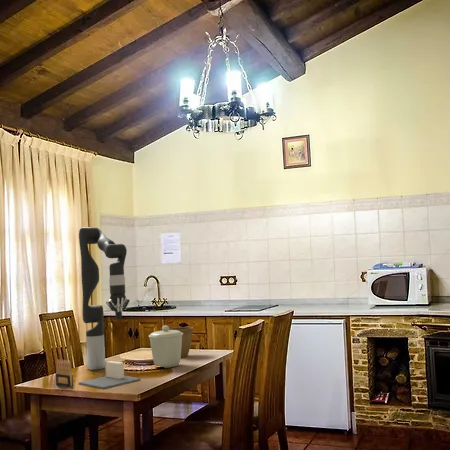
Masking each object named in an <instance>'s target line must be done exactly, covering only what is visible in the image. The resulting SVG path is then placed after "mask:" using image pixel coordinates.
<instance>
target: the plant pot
mask: <svg viewBox="0 0 450 450" xmlns="http://www.w3.org/2000/svg"><path fill="white" fill-rule="evenodd" d="M169 330H177V331H180V332H181V333H183V335H182V345H181V358H186V357H188V356H189V353H190V349H191V345H192V341H193V333H194V331H193V330H194V327H191V326H180V327H178V326H177V327H169Z"/></svg>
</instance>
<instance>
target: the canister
mask: <svg viewBox="0 0 450 450" xmlns="http://www.w3.org/2000/svg"><path fill="white" fill-rule="evenodd" d="M161 329H162V330H157V331H153V332H152V333H150V334H148V338H149V342H150V349H151V355H152V360H153V364H154V366H155V367H156V366H160V367H164V368H163V369H169V368H175V367H178V366H179V365H180V363H181V358H182V357H181V345H182V335H183V333H181V332H180V331H177V330H169V329H170V327H169V325H166V324H165V325H162V327H161Z"/></svg>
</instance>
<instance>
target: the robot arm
mask: <svg viewBox="0 0 450 450" xmlns="http://www.w3.org/2000/svg"><path fill="white" fill-rule="evenodd" d="M78 242H79V243H78V244H79V250H80V251H79V252H80V260H81V261H80V262H81V263H80V266H81V267H80V268H81V286H82V287H81V288H82V312H81V313H82V320H83V322H84V324H94V323H97V324H96V325H95V326H93V327H91V328H90V329H87V330H86V332H85V335H86V336H85V338H86V340H85V341H86V342H85V343H86V354H85V357H86V369H87V370H91V371H92V370H93V371H95V370H102V369H105V362H106V351H105V350H106V349H105V348H106V347H105V332H104V330H105V329H104V315H105V313H104V306H103V305H102V304H94V305H89V303H90V299H91V296H92V295H93V292H94V291H95V289H96V288H97V286H98V284H99V282H100V269H99V268H100V267H99V265H98V264H97V262H96V261H95V259H94V258H93V257H92V255H91V253H90V249H89V245H96V244H97V248H98V249H99V250H101V251H102V252H103V253H104V254H105V257H106V258H108V259H117V260H116V262H112V263H111V264H110V265H109V268H108V269H109V294H110V296H109V300H108V301H106V302H105V304H106V305H107V306H108V307H109V308H110V311H112V312H114V313H115V319H116V320H117V321H119V320H122V318H123V311H125V310H126V308H127V307H128V305H129V303H130V301H131V300H130V299H128V298H127V296H126V278H125V262H126V257H127V250H128V249H127V247H126V246H125V244H124V243H115V242H114V240H111V239H110V238H108V237H107V236H106V234H104V233H103V231H102V230H101V229H100V228H98V227H96V226H83V227H80V228H79V229H78Z"/></svg>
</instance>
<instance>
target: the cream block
mask: <svg viewBox="0 0 450 450" xmlns="http://www.w3.org/2000/svg"><path fill="white" fill-rule="evenodd" d="M124 364H125V363H124V361H123V362H122V361H116V360H115V361H114V360H107V361H106V360H105V368H104V373H105V374H104V377H105V376H106V377H111V378H117V379H120V378H124V376H125V367H124V366H125V365H124Z"/></svg>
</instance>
